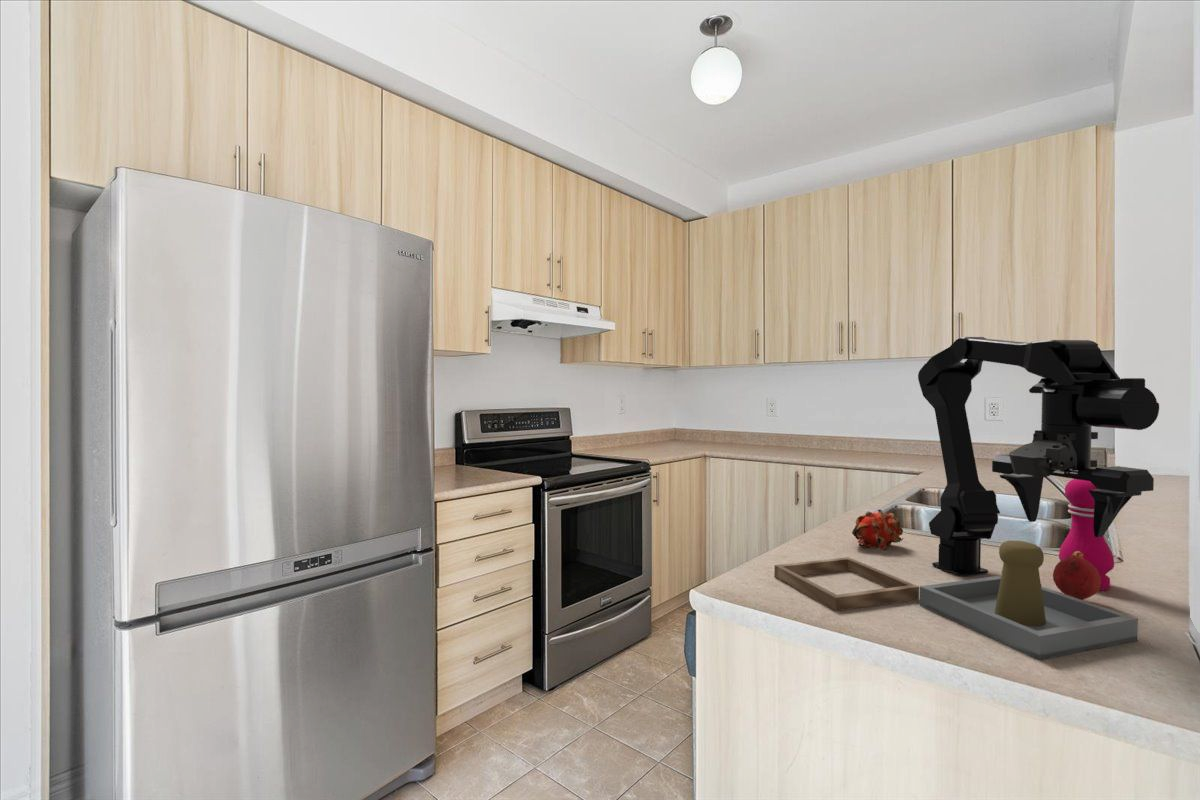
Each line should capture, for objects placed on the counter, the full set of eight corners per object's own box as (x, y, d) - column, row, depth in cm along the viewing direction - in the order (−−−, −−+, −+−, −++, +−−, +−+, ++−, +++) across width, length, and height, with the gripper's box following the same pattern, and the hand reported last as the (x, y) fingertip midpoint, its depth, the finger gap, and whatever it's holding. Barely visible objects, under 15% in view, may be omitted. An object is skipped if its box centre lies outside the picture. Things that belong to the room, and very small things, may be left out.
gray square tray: (1005, 592, 92) (1006, 574, 92) (1137, 640, 75) (1137, 618, 75) (919, 605, 87) (919, 586, 87) (1039, 659, 70) (1040, 636, 70)
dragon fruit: (906, 553, 119) (858, 566, 116) (880, 522, 125) (834, 534, 122) (921, 528, 113) (871, 540, 111) (893, 497, 120) (845, 508, 117)
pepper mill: (1118, 594, 91) (1121, 473, 90) (1062, 586, 95) (1064, 469, 94) (1108, 581, 97) (1110, 467, 97) (1055, 574, 101) (1057, 464, 100)
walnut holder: (848, 567, 105) (848, 557, 105) (919, 599, 89) (919, 586, 89) (774, 576, 100) (774, 565, 100) (835, 610, 85) (835, 597, 85)
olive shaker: (1056, 627, 77) (1057, 549, 77) (1007, 624, 78) (1009, 547, 78) (1031, 610, 83) (1032, 537, 83) (986, 607, 84) (987, 535, 84)
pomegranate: (1089, 611, 84) (1090, 559, 84) (1045, 598, 90) (1046, 549, 89) (1107, 604, 87) (1108, 553, 87) (1063, 592, 92) (1064, 544, 92)
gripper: (966, 421, 89) (964, 518, 90) (1097, 431, 71) (1094, 551, 72) (1019, 420, 92) (1017, 513, 93) (1158, 429, 74) (1154, 544, 75)
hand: (1063, 528), depth 83 cm, fingers open, 9 cm apart
